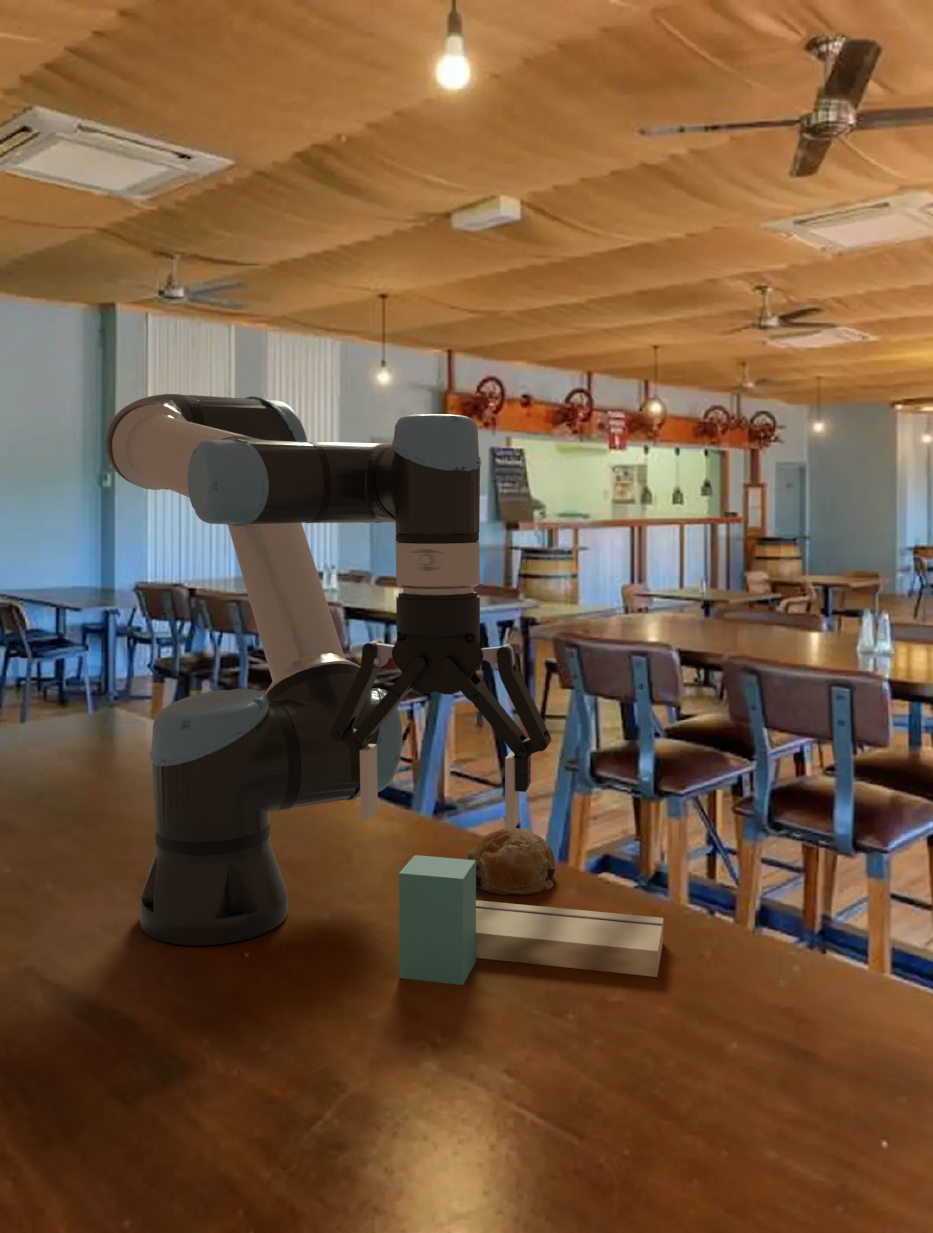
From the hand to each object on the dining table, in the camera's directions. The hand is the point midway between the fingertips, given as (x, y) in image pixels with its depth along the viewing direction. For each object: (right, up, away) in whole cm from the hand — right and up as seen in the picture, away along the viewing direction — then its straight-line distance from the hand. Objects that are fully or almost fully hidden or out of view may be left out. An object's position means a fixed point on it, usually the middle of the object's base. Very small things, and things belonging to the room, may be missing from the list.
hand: (439, 820), depth 99 cm
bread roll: (+7, -12, +25) cm, 29 cm away
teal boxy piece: (+1, -14, +6) cm, 15 cm away
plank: (+10, -14, +7) cm, 18 cm away
